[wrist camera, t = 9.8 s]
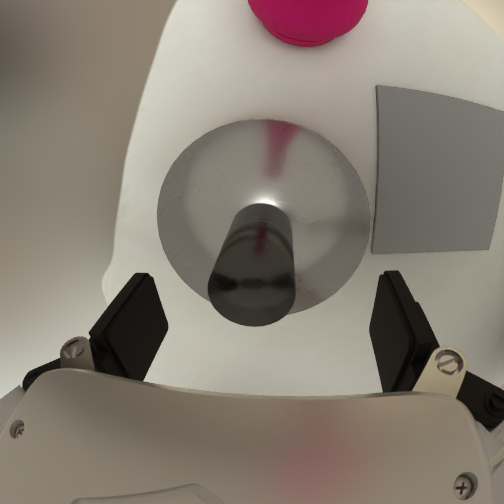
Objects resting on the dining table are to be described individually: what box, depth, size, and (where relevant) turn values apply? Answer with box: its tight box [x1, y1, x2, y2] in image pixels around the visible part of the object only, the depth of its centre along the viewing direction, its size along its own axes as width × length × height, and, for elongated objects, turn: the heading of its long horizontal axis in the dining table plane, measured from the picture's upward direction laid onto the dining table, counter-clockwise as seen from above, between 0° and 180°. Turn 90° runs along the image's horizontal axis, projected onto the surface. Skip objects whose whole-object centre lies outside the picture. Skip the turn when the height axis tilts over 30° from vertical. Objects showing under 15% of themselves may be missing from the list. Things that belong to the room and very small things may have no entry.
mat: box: [371, 85, 504, 254], centre depth 19 cm, size 14×14×1 cm
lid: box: [157, 119, 370, 327], centre depth 15 cm, size 13×13×7 cm
